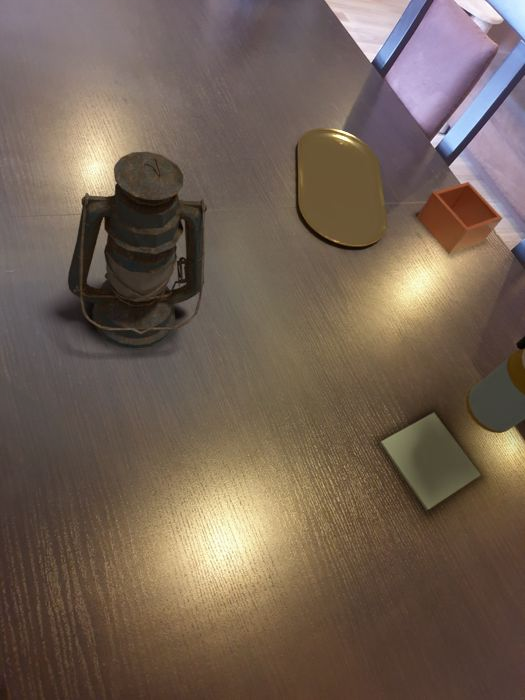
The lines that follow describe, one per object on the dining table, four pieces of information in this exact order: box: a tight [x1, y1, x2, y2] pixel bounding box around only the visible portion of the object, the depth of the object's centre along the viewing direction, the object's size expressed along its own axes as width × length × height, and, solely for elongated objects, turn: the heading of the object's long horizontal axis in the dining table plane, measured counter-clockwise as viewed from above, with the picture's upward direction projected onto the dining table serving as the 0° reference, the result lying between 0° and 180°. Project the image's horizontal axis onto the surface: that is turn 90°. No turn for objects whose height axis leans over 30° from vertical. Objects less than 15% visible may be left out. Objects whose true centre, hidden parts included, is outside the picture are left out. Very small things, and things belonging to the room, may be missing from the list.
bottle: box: [465, 348, 525, 434], centre depth 70 cm, size 7×7×15 cm
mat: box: [379, 412, 481, 512], centre depth 89 cm, size 12×12×1 cm
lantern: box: [67, 151, 208, 350], centre depth 77 cm, size 19×14×30 cm
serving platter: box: [297, 127, 388, 248], centre depth 118 cm, size 19×35×2 cm, turn 179°
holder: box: [416, 181, 503, 255], centre depth 118 cm, size 11×11×7 cm
